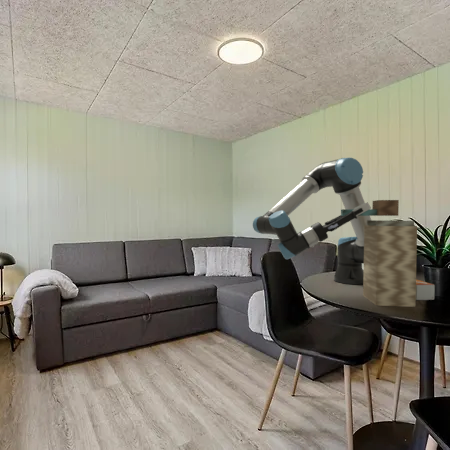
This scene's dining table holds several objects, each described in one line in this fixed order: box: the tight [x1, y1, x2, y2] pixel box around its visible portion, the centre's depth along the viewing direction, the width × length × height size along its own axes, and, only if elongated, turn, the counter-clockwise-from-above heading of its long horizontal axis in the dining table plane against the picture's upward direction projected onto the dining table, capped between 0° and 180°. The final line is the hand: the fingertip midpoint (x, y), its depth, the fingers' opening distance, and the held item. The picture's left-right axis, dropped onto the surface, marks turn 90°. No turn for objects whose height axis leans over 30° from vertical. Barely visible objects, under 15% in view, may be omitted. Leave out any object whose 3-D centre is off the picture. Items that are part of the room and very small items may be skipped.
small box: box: [416, 278, 436, 301], centre depth 128 cm, size 8×6×13 cm
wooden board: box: [362, 219, 418, 308], centre depth 120 cm, size 14×14×32 cm
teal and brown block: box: [340, 199, 399, 217], centre depth 120 cm, size 20×7×6 cm, turn 84°
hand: (367, 205), depth 120 cm, fingers closed on teal and brown block, 2 cm apart
